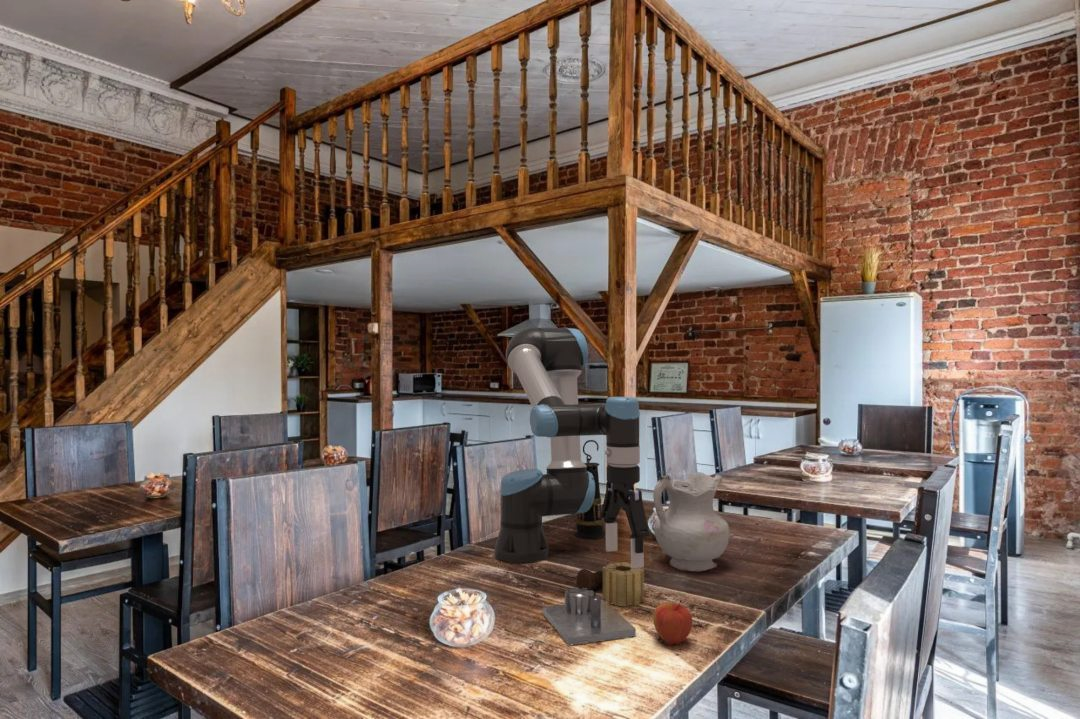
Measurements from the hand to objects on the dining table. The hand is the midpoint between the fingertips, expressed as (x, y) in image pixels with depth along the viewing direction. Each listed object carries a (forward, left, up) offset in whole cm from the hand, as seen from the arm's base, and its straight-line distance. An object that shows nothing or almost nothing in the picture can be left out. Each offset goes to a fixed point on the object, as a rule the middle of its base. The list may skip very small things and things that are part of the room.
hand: (623, 558), depth 142 cm
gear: (0, 0, -9) cm, 9 cm away
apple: (+22, 0, -10) cm, 24 cm away
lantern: (-52, +13, -10) cm, 55 cm away
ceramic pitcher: (-17, +27, -10) cm, 34 cm away
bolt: (-10, 0, -10) cm, 14 cm away
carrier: (+10, -13, -9) cm, 19 cm away
